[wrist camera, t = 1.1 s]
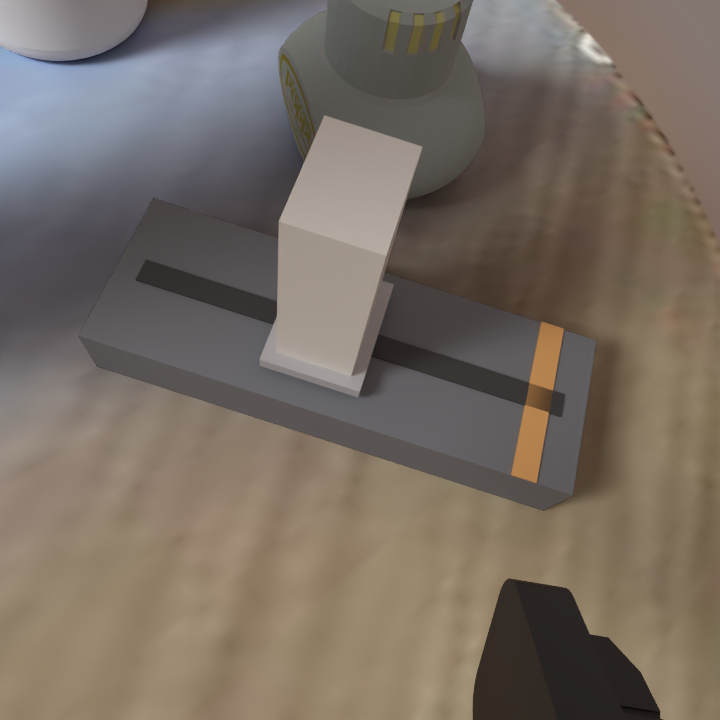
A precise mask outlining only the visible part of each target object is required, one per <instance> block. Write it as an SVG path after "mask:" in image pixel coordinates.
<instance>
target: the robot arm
mask: <svg viewBox="0 0 720 720" xmlns="http://www.w3.org/2000/svg"><path fill="white" fill-rule="evenodd" d="M473 720H662V719H660V710H659V708H658V706H657V704H656V702H655V700H654V698H653V696H652V694H651V692H650V690H649V688H648V686H647V684H646V682H645V680H644V678H643V676H642V674H641V672H640V671H639V670H638V669H637V668H636V667H635V666H634V665H633V664H632V663H631V661H630V660H629V659H628V658H627V657H626V656H625V655H624V654H623V653H622V652H621V651H620V650H619V649H618V648H617V646H616V645H615V644H614V643H613V642H612V641H611V640H610V639H609V638H608V637H602V636H596V635H590V634H589V632H588V629H587V627H586V625H585V622H584V620H583V618H582V616H581V613H580V611H579V609H578V606H577V604H576V602H575V599H574V597H573V595H572V593H571V592H570V591H569V590H568V589H567V588H563V587H557V586H551V585H545V584H539V583H533V582H527V581H521V580H515V579H507V580H506V581H505V582H504V584H503V586H502V588H501V591H500V594H499V597H498V601H497V604H496V608H495V611H494V615H493V618H492V622H491V625H490V629H489V632H488V636H487V639H486V643H485V646H484V650H483V653H482V657H481V660H480V664H479V667H478V671H477V675H476V679H475V686H474V694H473Z"/></svg>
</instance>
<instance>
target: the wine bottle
mask: <svg viewBox="0 0 720 720" xmlns="http://www.w3.org/2000/svg"><path fill="white" fill-rule="evenodd" d="M147 1H148V0H0V46H1V47H3V48H5V49H7V50H9V51H11V52H14V53H17V54H20V55H23V56H25V57H30V58H35V59H40V60H50V61H67V60H77V59H82V58H88V57H91V56H94V55H98V54H101V53H103V52H105V51H107V50H109V49H112V48H114V47H115V46H117V45H118V44H120V43H121V42H123V41H124V40H125V39H127V38H128V37H129V36H130V35H131V34H132V33H133V32H134V31H135V29H136V28H137V26H138V25H139V24H140V22H141V21H142V18H143V16H144V13H145V11H146V8H147Z"/></svg>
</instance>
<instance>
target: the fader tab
mask: <svg viewBox="0 0 720 720" xmlns="http://www.w3.org/2000/svg"><path fill="white" fill-rule="evenodd" d="M421 150H422V146H419V145H416V144H413V143H410V142H407V141H403V140H400V139H397V138H394V137H391V136H388V135H385V134H382V133H378V132H375V131H372V130H369V129H366V128H363V127H360V126H356V125H353V124H350V123H347V122H344V121H341V120H338V119H335V118H331V117H328V116H325V115H324V118H323V120H322V122H321V125H320V127H319V129H318V132H317V134H316V136H315V138H314V141H313V143H312V145H311V148H310V150H309V152H308V155H307V157H306V159H305V162H304V164H303V166H302V169H301V171H300V173H299V176H298V178H297V180H296V183H295V185H294V187H293V189H292V192H291V194H290V196H289V199H288V201H287V203H286V206H285V208H284V210H283V213H282V215H281V217H280V220H279V235H278V290H277V317H276V319H275V322H274V324H273V327H272V329H271V332H270V334H269V337H268V339H267V342H266V344H265V347H264V349H263V352H262V354H261V357H260V359H259V362H260V366H262V367H265V368H268V369H271V370H274V371H277V372H281V373H284V374H287V375H290V376H293V377H296V378H299V379H302V380H305V381H308V382H312V383H315V384H318V385H321V386H324V387H327V388H330V389H333V390H336V391H339V392H343V393H346V394H349V395H352V396H355V397H358V396H359V393H360V390H361V387H362V384H363V381H364V377H365V374H366V371H367V368H368V365H369V362H370V359H371V355H372V352H373V349H374V346H375V343H376V340H377V337H378V333H379V330H380V327H381V324H382V321H383V318H384V315H385V311H386V308H387V305H388V302H389V299H390V296H391V293H392V289H393V286H394V284H391V283H388V282H385V281H382V280H383V276H384V273H385V270H386V266H387V263H388V260H389V257H390V253H391V250H392V247H393V243H394V240H395V237H396V233H397V230H398V227H399V223H400V220H401V217H402V213H403V210H404V207H405V203H406V200H407V197H408V193H409V190H410V187H411V183H412V180H413V177H414V173H415V170H416V167H417V163H418V160H419V157H420V153H421Z"/></svg>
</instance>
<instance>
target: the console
mask: <svg viewBox="0 0 720 720" xmlns="http://www.w3.org/2000/svg"><path fill="white" fill-rule="evenodd" d="M382 281H385V282H388V283H391V284H394V286H393V289H392V293H391V296H390V299H389V302H388V305H387V308H386V311H385V315H384V318H383V321H382V324H381V327H380V330H379V333H378V337H377V340H376V343H375V346H374V349H373V352H372V355H371V359H370V362H369V365H368V368H367V371H366V374H365V377H364V381H363V384H362V387H361V390H360V393H359V396H358V397H355V396H352V395H349V394H346V393H343V392H339V391H336V390H333V389H330V388H327V387H324V386H321V385H318V384H315V383H312V382H308V381H305V380H302V379H299V378H296V377H293V376H290V375H287V374H284V373H281V372H277V371H274V370H271V369H268V368H265V367H262V366H260V362H259V359H260V357H261V354H262V352H263V349H264V347H265V344H266V342H267V339H268V337H269V334H270V332H271V329H272V327H273V324H274V322H275V319H276V317H277V290H278V238H276V237H273V236H270V235H267V234H264V233H261V232H258V231H254V230H251V229H248V228H245V227H242V226H239V225H236V224H233V223H230V222H226V221H223V220H220V219H217V218H214V217H211V216H208V215H205V214H202V213H198V212H195V211H192V210H189V209H186V208H183V207H180V206H177V205H174V204H170V203H167V202H164V201H161V200H158V199H155V198H153V200H152V202H151V203H150V205H149V207H148V209H147V211H146V213H145V214H144V216H143V218H142V220H141V222H140V223H139V225H138V227H137V229H136V231H135V233H134V234H133V236H132V238H131V240H130V242H129V244H128V245H127V247H126V249H125V251H124V253H123V255H122V256H121V258H120V260H119V262H118V264H117V266H116V267H115V269H114V271H113V273H112V275H111V277H110V278H109V280H108V282H107V284H106V286H105V288H104V289H103V291H102V293H101V295H100V297H99V299H98V300H97V302H96V304H95V306H94V308H93V310H92V311H91V313H90V315H89V317H88V319H87V321H86V322H85V324H84V326H83V328H82V330H81V331H80V333H79V335H78V336H79V338H80V339H81V341H82V343H83V344H84V346H85V347H86V349H87V351H88V352H89V354H90V356H91V357H92V359H93V361H94V362H95V364H96V365H97V366H98V367H101V368H104V369H107V370H110V371H113V372H116V373H119V374H123V375H126V376H129V377H132V378H135V379H138V380H141V381H144V382H147V383H150V384H153V385H157V386H160V387H163V388H166V389H169V390H172V391H175V392H178V393H181V394H184V395H187V396H191V397H194V398H197V399H200V400H203V401H206V402H209V403H212V404H215V405H218V406H221V407H225V408H228V409H231V410H234V411H237V412H240V413H243V414H246V415H249V416H252V417H255V418H259V419H262V420H265V421H268V422H271V423H274V424H277V425H280V426H283V427H286V428H290V429H293V430H296V431H299V432H302V433H305V434H308V435H311V436H314V437H317V438H320V439H324V440H327V441H330V442H333V443H336V444H339V445H342V446H345V447H348V448H351V449H354V450H358V451H361V452H364V453H367V454H370V455H373V456H376V457H379V458H382V459H385V460H388V461H392V462H395V463H398V464H401V465H404V466H407V467H410V468H413V469H416V470H419V471H423V472H426V473H429V474H432V475H435V476H438V477H441V478H444V479H447V480H450V481H453V482H457V483H460V484H463V485H466V486H469V487H472V488H475V489H478V490H481V491H484V492H487V493H491V494H494V495H497V496H500V497H503V498H506V499H509V500H512V501H515V502H518V503H521V504H525V505H528V506H531V507H534V508H537V509H540V510H543V511H544V510H546V509H547V508H549V507H551V506H553V505H555V504H557V503H559V502H561V501H563V500H565V499H567V498H569V497H571V496H573V492H574V485H575V479H576V472H577V465H578V459H579V452H580V445H581V439H582V432H583V426H584V419H585V412H586V406H587V399H588V393H589V386H590V379H591V373H592V366H593V360H594V353H595V346H596V340H594V339H591V338H587V337H584V336H581V335H578V334H575V333H572V332H569V331H566V330H564V328H561V327H557V326H554V325H551V324H548V323H545V322H538V321H535V320H531V319H528V318H525V317H522V316H519V315H516V314H513V313H510V312H507V311H503V310H500V309H497V308H494V307H491V306H488V305H485V304H482V303H479V302H475V301H472V300H469V299H466V298H463V297H460V296H457V295H454V294H451V293H447V292H444V291H441V290H438V289H435V288H432V287H429V286H426V285H423V284H419V283H416V282H413V281H410V280H407V279H404V278H401V277H398V276H395V275H391V274H388V273H384V276H383V280H382Z"/></svg>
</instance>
